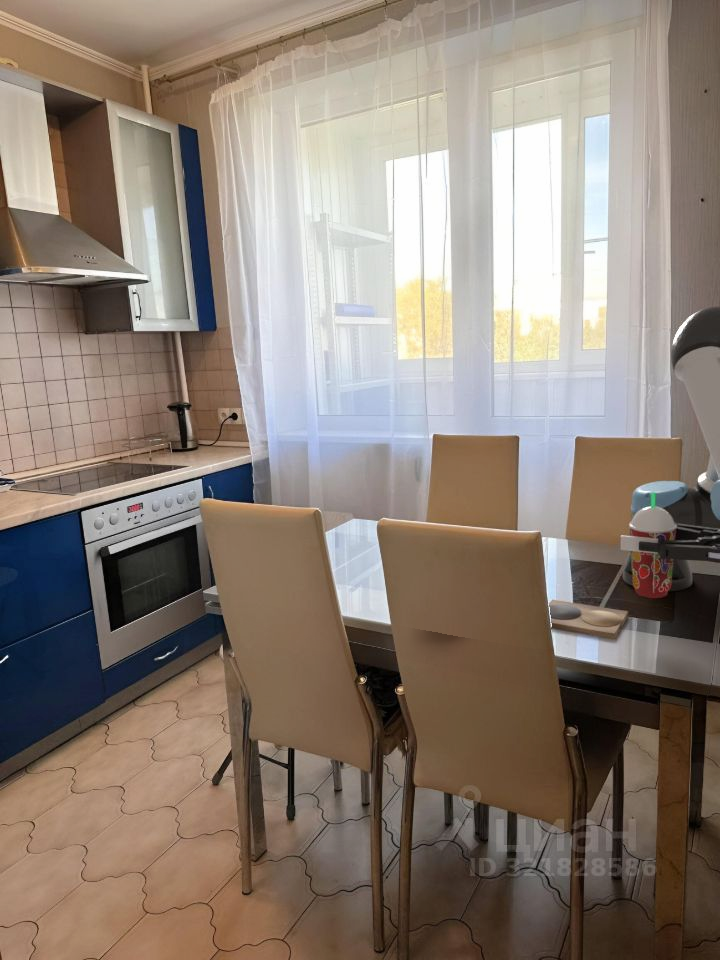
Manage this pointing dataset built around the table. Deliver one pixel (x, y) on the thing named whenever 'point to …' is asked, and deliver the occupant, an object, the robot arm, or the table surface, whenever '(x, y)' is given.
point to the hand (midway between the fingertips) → (626, 536)
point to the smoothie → (648, 567)
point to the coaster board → (587, 619)
